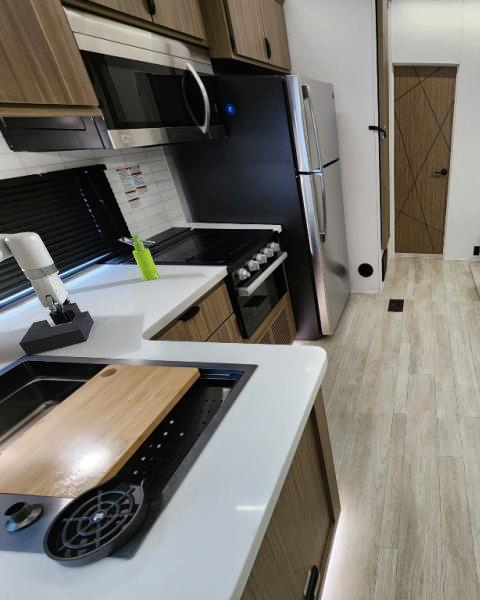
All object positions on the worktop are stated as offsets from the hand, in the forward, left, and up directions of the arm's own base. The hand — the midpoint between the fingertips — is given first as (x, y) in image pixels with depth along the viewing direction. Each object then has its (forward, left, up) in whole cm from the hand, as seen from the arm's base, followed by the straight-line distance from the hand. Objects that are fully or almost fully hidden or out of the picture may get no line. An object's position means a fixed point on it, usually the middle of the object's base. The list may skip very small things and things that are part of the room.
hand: (68, 317), depth 116 cm
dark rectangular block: (0, -11, -2) cm, 11 cm away
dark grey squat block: (0, 0, -1) cm, 1 cm away
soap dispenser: (+23, +31, -2) cm, 39 cm away
